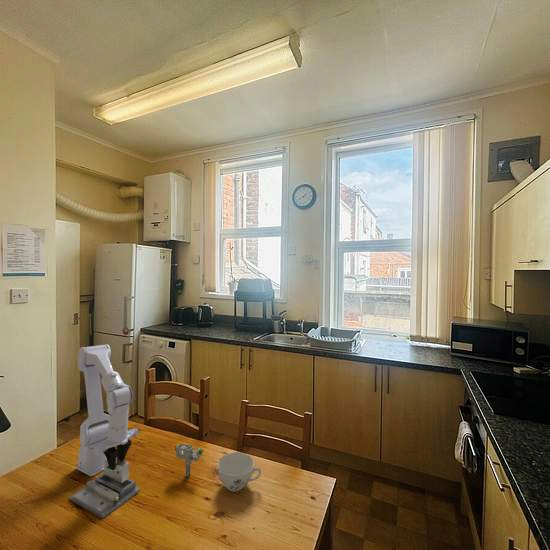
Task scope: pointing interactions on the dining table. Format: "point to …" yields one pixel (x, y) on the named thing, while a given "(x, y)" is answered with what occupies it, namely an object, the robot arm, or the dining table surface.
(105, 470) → the brushed steel bar
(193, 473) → the dining table surface
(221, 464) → the teacup
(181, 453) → the mechanical component
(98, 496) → the fixed leaf
